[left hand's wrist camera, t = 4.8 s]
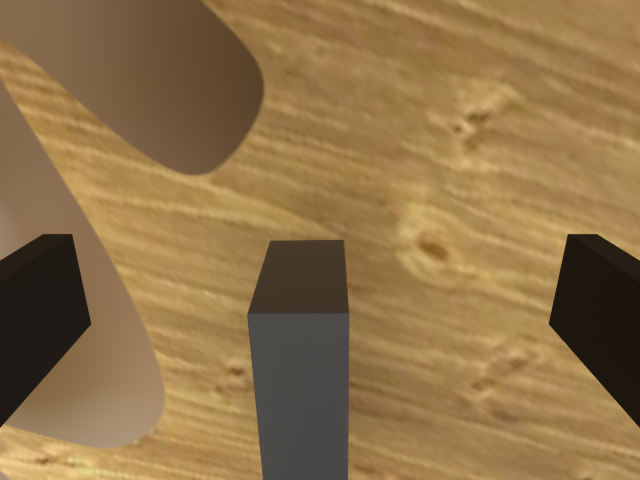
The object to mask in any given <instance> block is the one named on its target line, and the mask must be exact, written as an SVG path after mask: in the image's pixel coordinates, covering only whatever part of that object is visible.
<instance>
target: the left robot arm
mask: <svg viewBox="0 0 640 480" xmlns="http://www.w3.org/2000/svg"><path fill="white" fill-rule="evenodd" d="M90 325H91V321H90V316H89V311H88V307H87V302H86V297H85V293H84V288H83V283H82V279H81V274H80V269H79V265H78V260H77V255H76V250H75V246H74V241H73V236H72V234H43V235H41V236H39V237H38V238H36V239H34V240H33V241H31V242H30V243H28V244H26V245H25V246H23V247H22V248H20V249H18V250H17V251H15V252H13V253H12V254H10V255H9V256H7V257H5V258H4V259H2V260H0V428H1V426H2V425H3V424H4V423H5V422H6V421H7V420H8V418H9V417H10V416H11V415H12V414H13V413H14V412H15V410H16V409H17V408H18V407H19V406H20V405H21V404H22V402H23V401H24V400H25V399H26V398H27V397H28V396H29V394H30V393H31V392H32V391H33V390H34V389H35V388H36V386H37V385H38V384H39V383H40V382H41V381H42V380H43V378H44V377H45V376H46V375H47V374H48V373H49V372H50V371H51V369H52V368H53V367H54V366H55V365H56V364H57V363H58V361H59V360H60V359H61V358H62V357H63V356H64V355H65V353H66V352H67V351H68V350H69V349H70V348H71V347H72V345H73V344H74V343H75V342H76V341H77V340H78V339H79V337H80V336H81V335H82V334H83V333H84V332H85V331H86V330H87V328H88V327H89V326H90ZM549 325H550V326H551V327H552V328H553V330H554V331H555V332H556V333H557V334H558V335H559V336H560V338H561V339H562V340H563V341H564V342H565V343H566V344H567V345H568V347H569V348H570V349H571V350H572V351H573V352H574V353H575V355H576V356H577V357H578V358H579V359H580V360H581V361H582V363H583V364H584V365H585V366H586V367H587V368H588V369H589V371H590V372H591V373H592V374H593V375H594V376H595V377H596V379H597V380H598V381H599V382H600V383H601V384H602V385H603V387H604V388H605V389H606V390H607V391H608V392H609V393H610V394H611V396H612V397H613V398H614V399H615V400H616V401H617V402H618V404H619V405H620V406H621V407H622V408H623V409H624V410H625V412H626V413H627V414H628V415H629V416H630V417H631V418H632V420H633V421H634V422H635V423H636V424H637V425H638V426H639V428H640V260H638V259H636V258H635V257H633V256H631V255H630V254H628V253H627V252H625V251H623V250H622V249H620V248H618V247H617V246H615V245H614V244H612V243H610V242H609V241H607V240H606V239H604V238H602V237H601V236H599V235H597V234H568V236H567V241H566V246H565V250H564V255H563V260H562V265H561V269H560V274H559V279H558V283H557V288H556V293H555V297H554V302H553V307H552V311H551V316H550V321H549Z"/></svg>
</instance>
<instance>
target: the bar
mask: <svg viewBox="0 0 640 480" xmlns="http://www.w3.org/2000/svg"><path fill="white" fill-rule="evenodd" d="M247 315H248V326H249V336H250V347H251V357H252V368H253V378H254V389H255V400H256V410H257V421H258V431H259V442H260V453H261V463H262V474H263V480H348V404H349V304H348V291H347V277H346V263H345V249H344V240H304V241H270V244H269V247H268V250H267V253H266V256H265V260H264V263H263V266H262V269H261V272H260V276H259V279H258V282H257V285H256V288H255V292H254V295H253V298H252V301H251V304H250V308H249V311H248V314H247Z"/></svg>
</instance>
